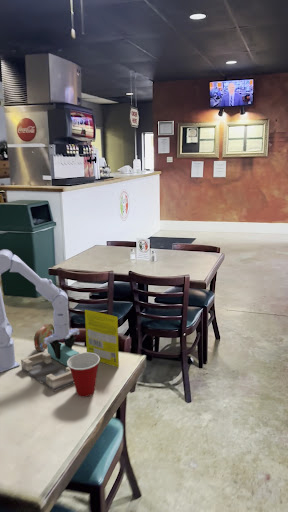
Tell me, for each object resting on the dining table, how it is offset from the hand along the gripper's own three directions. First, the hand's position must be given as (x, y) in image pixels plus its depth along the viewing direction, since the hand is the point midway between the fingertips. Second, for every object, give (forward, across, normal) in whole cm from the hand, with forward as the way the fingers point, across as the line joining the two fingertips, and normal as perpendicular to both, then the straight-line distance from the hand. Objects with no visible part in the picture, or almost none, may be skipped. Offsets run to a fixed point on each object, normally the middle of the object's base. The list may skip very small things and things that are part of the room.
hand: (63, 356), depth 169 cm
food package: (+2, +10, -12) cm, 16 cm away
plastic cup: (+2, -8, -25) cm, 26 cm away
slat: (+2, 0, 0) cm, 2 cm away
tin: (+2, +2, +17) cm, 17 cm away
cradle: (+2, -10, -6) cm, 12 cm away
